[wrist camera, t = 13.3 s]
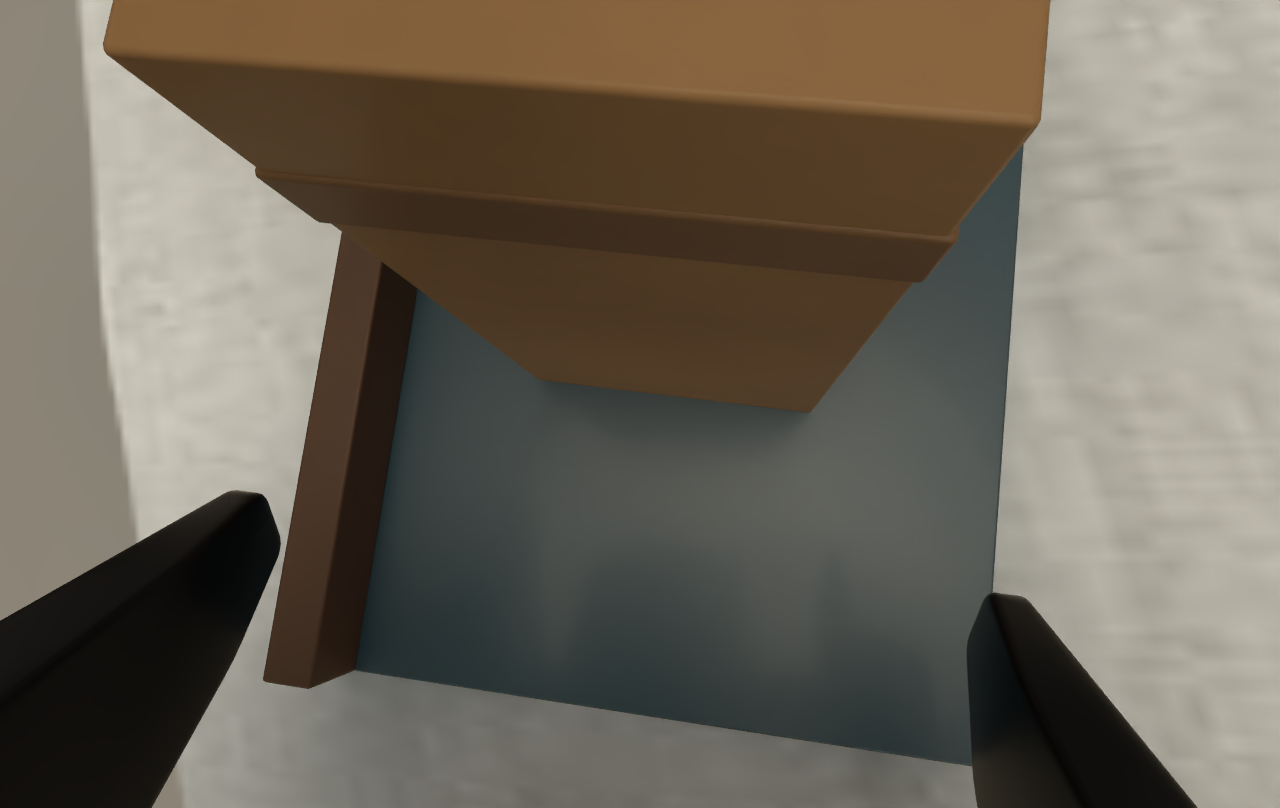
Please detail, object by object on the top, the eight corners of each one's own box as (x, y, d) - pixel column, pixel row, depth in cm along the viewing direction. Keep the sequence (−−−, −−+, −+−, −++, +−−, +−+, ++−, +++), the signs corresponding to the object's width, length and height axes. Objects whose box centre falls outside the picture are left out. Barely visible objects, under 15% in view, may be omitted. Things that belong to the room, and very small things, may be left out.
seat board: (966, 754, 17) (1016, 802, 14) (333, 657, 19) (261, 682, 16) (1028, -114, 20) (1081, -225, 17) (465, -133, 21) (423, -237, 18)
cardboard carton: (813, 415, 18) (1051, 135, 5) (534, 382, 18) (87, 57, 5) (838, 187, 18) (1110, -609, 5) (568, 163, 19) (238, -587, 6)
